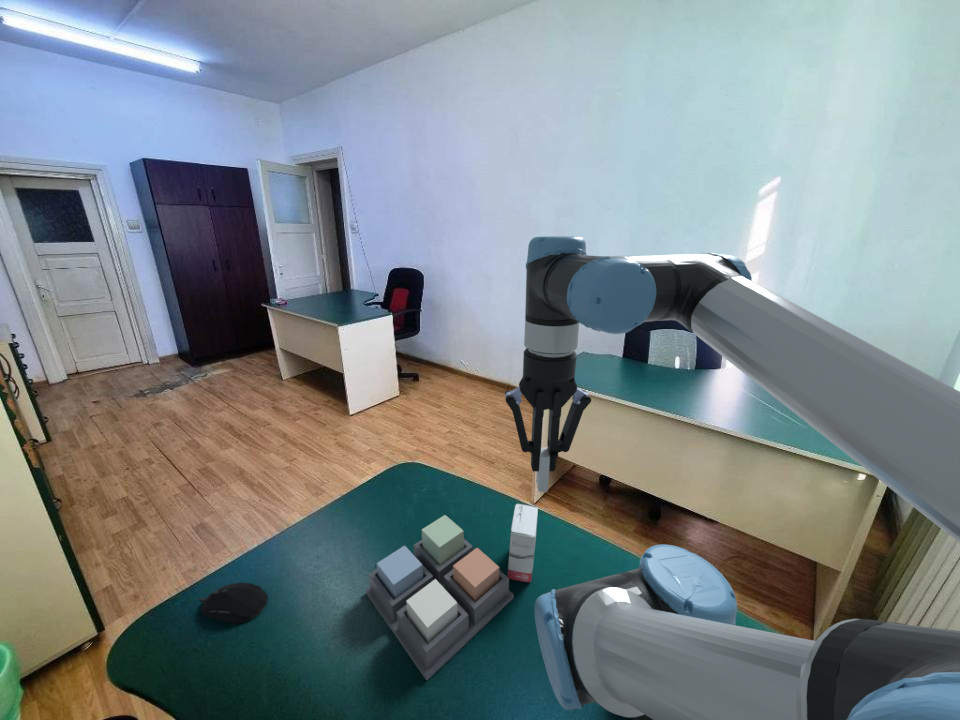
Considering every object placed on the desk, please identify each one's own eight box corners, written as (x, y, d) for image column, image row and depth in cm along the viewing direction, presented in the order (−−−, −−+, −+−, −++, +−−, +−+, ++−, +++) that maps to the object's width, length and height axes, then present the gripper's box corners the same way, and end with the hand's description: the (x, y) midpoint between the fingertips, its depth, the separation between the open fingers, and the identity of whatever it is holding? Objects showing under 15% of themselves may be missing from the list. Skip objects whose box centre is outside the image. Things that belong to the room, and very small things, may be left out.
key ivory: (457, 623, 63) (457, 602, 62) (428, 649, 59) (427, 627, 58) (436, 599, 67) (435, 578, 66) (408, 621, 63) (406, 600, 62)
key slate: (423, 584, 70) (422, 564, 68) (395, 605, 66) (393, 584, 65) (406, 564, 74) (404, 545, 73) (379, 583, 70) (376, 563, 69)
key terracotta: (498, 587, 70) (499, 566, 68) (475, 608, 66) (475, 587, 64) (477, 566, 74) (477, 547, 72) (453, 585, 70) (453, 565, 68)
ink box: (532, 584, 73) (535, 537, 69) (507, 579, 74) (508, 532, 70) (535, 549, 81) (538, 505, 77) (512, 545, 82) (514, 501, 78)
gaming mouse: (207, 585, 74) (202, 569, 72) (275, 595, 71) (272, 580, 70) (179, 616, 68) (172, 600, 66) (252, 628, 66) (247, 612, 64)
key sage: (463, 549, 76) (463, 530, 74) (440, 567, 72) (439, 547, 71) (445, 533, 80) (445, 514, 79) (422, 548, 76) (421, 529, 75)
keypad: (513, 598, 70) (514, 578, 69) (426, 681, 58) (425, 659, 56) (447, 537, 84) (447, 519, 83) (365, 593, 71) (363, 573, 70)
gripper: (588, 341, 57) (576, 472, 65) (503, 341, 57) (501, 472, 65) (603, 357, 50) (587, 501, 58) (506, 357, 50) (503, 501, 58)
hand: (541, 486), depth 61 cm, fingers closed
